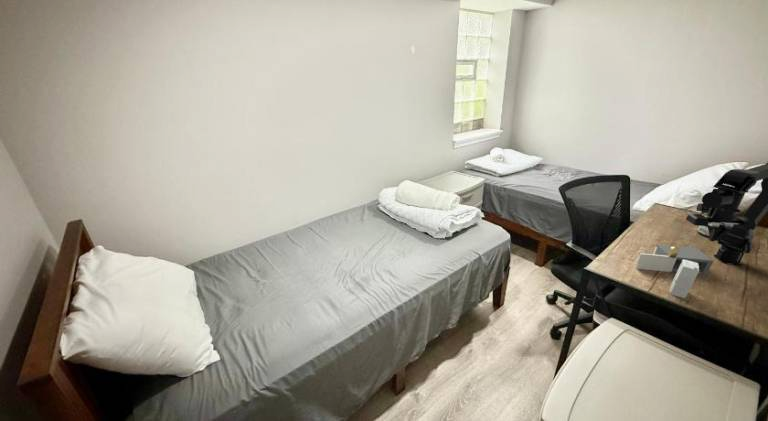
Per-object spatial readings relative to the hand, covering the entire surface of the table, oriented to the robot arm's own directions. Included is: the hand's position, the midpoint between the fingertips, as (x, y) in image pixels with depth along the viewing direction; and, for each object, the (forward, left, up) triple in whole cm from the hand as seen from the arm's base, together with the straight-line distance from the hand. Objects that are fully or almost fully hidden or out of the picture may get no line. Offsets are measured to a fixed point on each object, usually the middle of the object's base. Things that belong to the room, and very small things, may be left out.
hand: (711, 240), depth 122 cm
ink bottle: (-22, -33, -12) cm, 41 cm away
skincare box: (+18, +21, -12) cm, 30 cm away
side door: (+20, +7, -12) cm, 24 cm away
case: (+8, +1, -12) cm, 14 cm away
